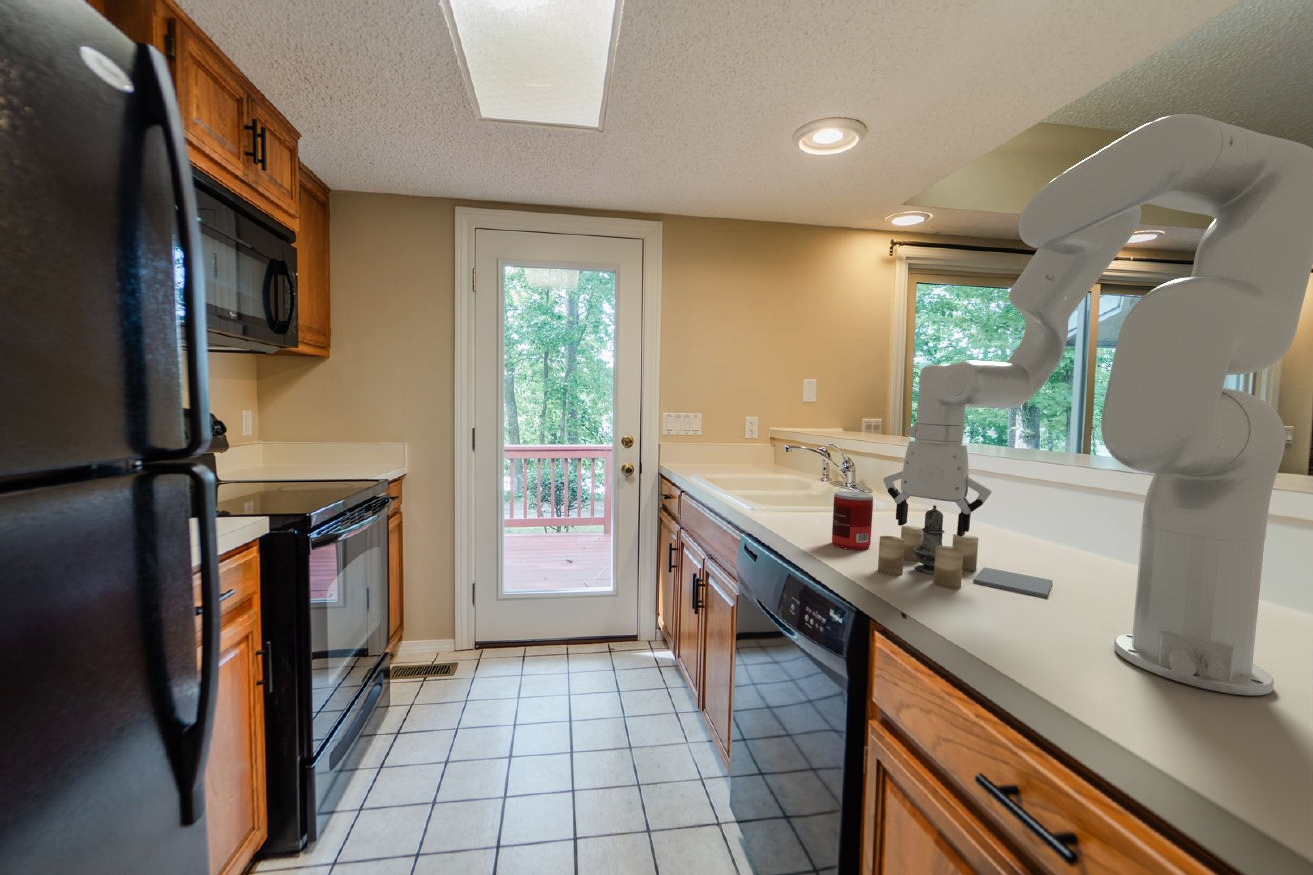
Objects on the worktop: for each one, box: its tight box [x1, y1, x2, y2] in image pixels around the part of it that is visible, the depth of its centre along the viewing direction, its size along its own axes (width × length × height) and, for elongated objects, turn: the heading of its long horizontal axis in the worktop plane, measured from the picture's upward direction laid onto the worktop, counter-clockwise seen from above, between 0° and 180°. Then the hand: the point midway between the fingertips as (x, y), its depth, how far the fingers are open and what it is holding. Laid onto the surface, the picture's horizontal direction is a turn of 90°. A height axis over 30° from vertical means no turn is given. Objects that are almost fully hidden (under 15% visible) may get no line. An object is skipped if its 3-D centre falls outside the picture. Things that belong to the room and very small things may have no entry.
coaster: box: [972, 566, 1053, 599], centre depth 88 cm, size 10×10×1 cm
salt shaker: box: [913, 504, 945, 576], centre depth 94 cm, size 6×6×12 cm
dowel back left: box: [900, 525, 924, 562], centre depth 102 cm, size 4×4×6 cm
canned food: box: [831, 490, 874, 551], centre depth 110 cm, size 8×8×11 cm
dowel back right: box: [951, 533, 979, 573], centre depth 96 cm, size 4×4×6 cm
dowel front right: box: [933, 545, 963, 590], centre depth 86 cm, size 4×4×6 cm
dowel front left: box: [877, 535, 905, 577], centre depth 92 cm, size 4×4×6 cm
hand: (930, 529), depth 94 cm, fingers open, 9 cm apart
